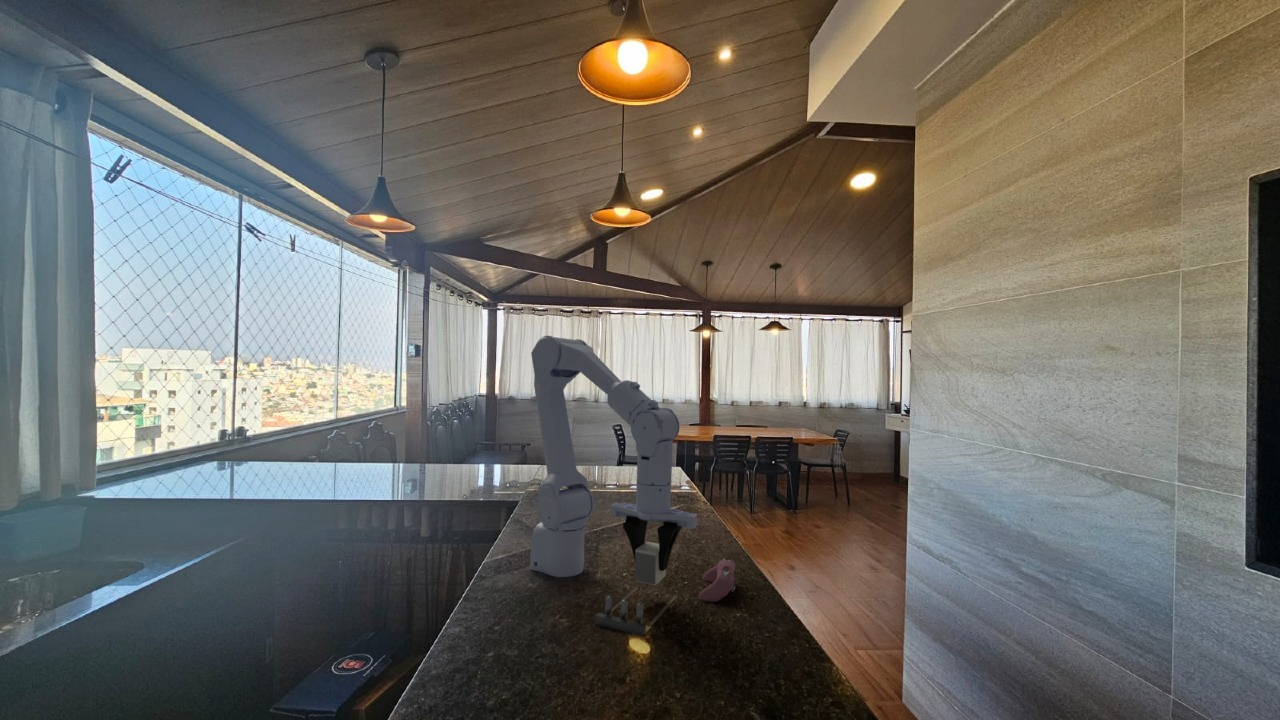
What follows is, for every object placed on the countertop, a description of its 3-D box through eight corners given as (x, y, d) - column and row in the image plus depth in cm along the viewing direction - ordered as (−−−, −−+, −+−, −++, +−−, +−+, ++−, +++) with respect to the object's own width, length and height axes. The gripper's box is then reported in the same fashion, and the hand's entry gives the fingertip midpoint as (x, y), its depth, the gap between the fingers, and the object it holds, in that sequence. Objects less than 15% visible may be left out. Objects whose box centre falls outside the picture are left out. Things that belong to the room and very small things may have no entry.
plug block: (634, 581, 81) (635, 549, 81) (645, 571, 85) (646, 541, 85) (655, 585, 79) (655, 553, 79) (665, 575, 83) (666, 545, 84)
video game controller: (720, 618, 81) (741, 581, 81) (695, 602, 82) (716, 565, 82) (722, 593, 91) (741, 560, 91) (700, 579, 92) (718, 546, 92)
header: (594, 624, 73) (595, 599, 73) (601, 617, 75) (602, 593, 75) (642, 636, 70) (643, 610, 70) (648, 629, 72) (649, 604, 72)
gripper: (603, 481, 82) (600, 566, 82) (688, 492, 76) (685, 583, 76) (622, 474, 89) (619, 553, 88) (701, 484, 83) (699, 568, 82)
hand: (651, 566), depth 82 cm, fingers closed on plug block, 4 cm apart
